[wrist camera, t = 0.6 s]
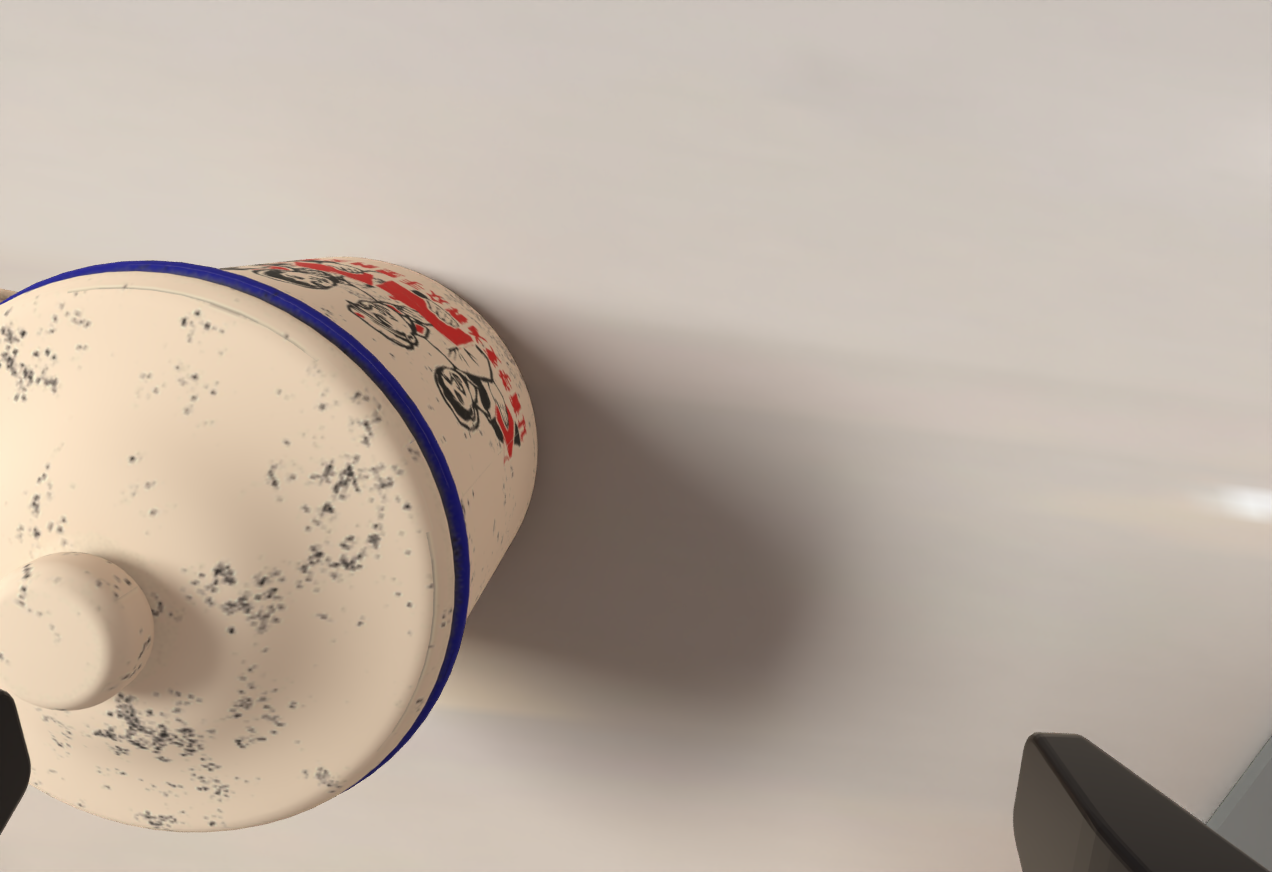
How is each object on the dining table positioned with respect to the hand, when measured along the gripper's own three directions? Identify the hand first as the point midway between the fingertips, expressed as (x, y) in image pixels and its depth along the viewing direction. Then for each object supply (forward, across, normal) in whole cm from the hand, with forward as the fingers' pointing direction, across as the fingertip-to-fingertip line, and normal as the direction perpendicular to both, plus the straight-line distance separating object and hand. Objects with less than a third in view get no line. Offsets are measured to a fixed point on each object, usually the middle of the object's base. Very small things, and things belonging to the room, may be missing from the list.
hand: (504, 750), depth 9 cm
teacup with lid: (+15, +8, +2) cm, 17 cm away
